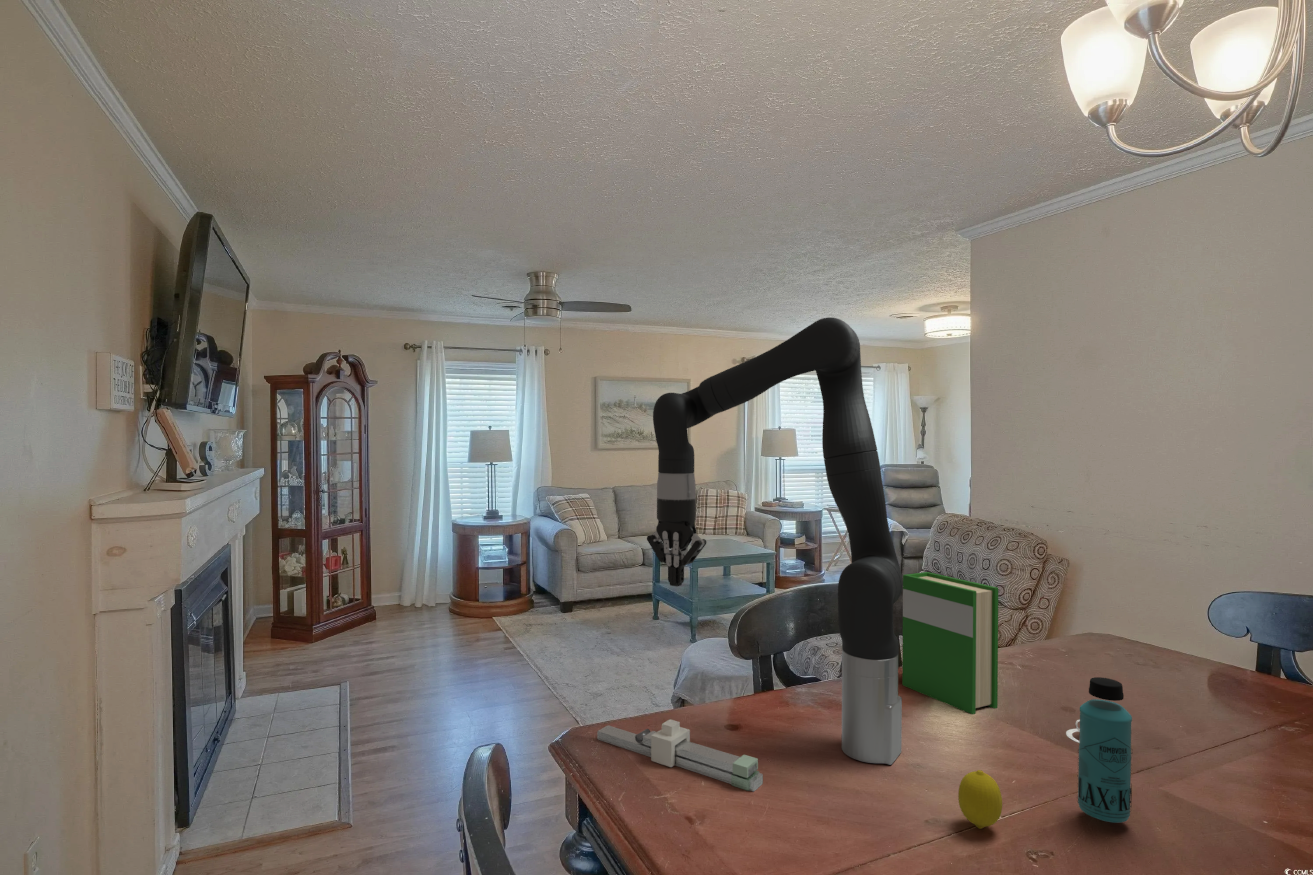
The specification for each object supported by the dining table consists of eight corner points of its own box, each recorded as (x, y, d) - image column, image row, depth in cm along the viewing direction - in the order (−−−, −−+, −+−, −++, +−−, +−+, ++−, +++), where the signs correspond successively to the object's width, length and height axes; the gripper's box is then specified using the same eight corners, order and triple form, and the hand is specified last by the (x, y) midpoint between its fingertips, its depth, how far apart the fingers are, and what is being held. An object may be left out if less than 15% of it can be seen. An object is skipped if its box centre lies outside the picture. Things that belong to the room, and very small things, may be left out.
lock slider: (651, 760, 116) (651, 725, 115) (670, 748, 120) (670, 714, 120) (671, 767, 113) (671, 731, 113) (689, 754, 118) (689, 720, 118)
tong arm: (641, 744, 118) (641, 734, 118) (654, 736, 121) (654, 727, 121) (747, 777, 106) (747, 767, 106) (757, 768, 109) (757, 758, 109)
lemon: (1007, 841, 93) (1007, 782, 93) (963, 836, 94) (963, 777, 94) (995, 819, 99) (996, 763, 99) (954, 814, 100) (954, 759, 100)
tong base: (596, 739, 124) (596, 722, 124) (609, 732, 127) (609, 715, 127) (752, 792, 106) (753, 771, 106) (763, 782, 109) (763, 762, 109)
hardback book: (997, 707, 139) (998, 587, 139) (972, 714, 136) (973, 591, 136) (926, 679, 155) (927, 571, 155) (902, 685, 151) (903, 574, 151)
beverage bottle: (1066, 809, 101) (1067, 672, 101) (1109, 807, 102) (1110, 671, 102) (1098, 835, 95) (1099, 689, 95) (1144, 833, 95) (1145, 687, 95)
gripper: (715, 496, 134) (715, 586, 134) (659, 493, 142) (659, 578, 142) (694, 499, 128) (694, 593, 128) (637, 495, 136) (636, 584, 136)
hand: (675, 585), depth 135 cm, fingers closed
